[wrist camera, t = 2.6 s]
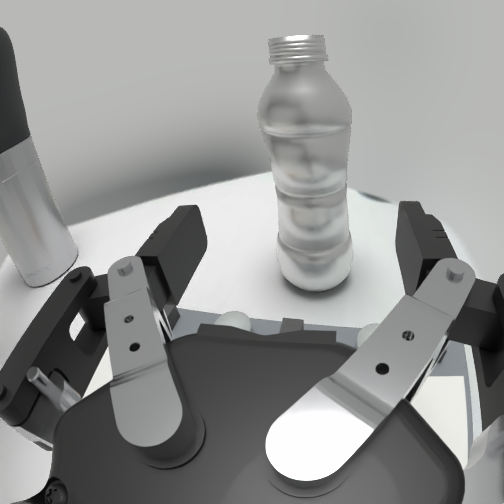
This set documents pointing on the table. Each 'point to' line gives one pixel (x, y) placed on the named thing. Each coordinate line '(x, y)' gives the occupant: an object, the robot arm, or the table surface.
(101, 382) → the board
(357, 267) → the table surface
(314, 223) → the plastic bottle
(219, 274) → the table surface
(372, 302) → the table surface
